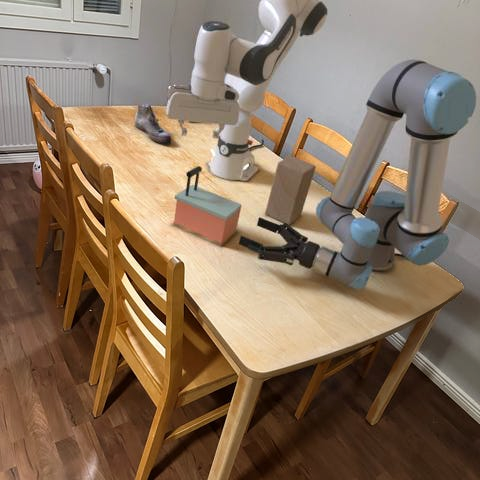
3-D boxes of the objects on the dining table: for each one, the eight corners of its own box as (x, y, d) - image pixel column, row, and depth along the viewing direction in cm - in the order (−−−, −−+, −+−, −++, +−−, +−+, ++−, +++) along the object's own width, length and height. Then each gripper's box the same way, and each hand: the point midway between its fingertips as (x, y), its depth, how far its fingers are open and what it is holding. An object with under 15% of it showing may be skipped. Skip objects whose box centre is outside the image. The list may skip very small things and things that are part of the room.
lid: (174, 198, 134) (177, 171, 129) (192, 187, 142) (195, 161, 137) (225, 220, 129) (231, 192, 124) (241, 207, 137) (246, 181, 132)
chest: (173, 225, 138) (176, 199, 133) (190, 213, 146) (194, 188, 142) (220, 246, 133) (225, 220, 129) (235, 232, 142) (241, 207, 137)
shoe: (175, 145, 192) (178, 118, 185) (151, 146, 186) (153, 118, 180) (154, 124, 209) (157, 98, 202) (132, 124, 203) (133, 97, 197)
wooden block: (289, 225, 152) (304, 173, 141) (264, 214, 155) (277, 162, 145) (301, 216, 159) (316, 165, 149) (277, 205, 163) (290, 155, 152)
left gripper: (169, 86, 113) (164, 137, 121) (244, 95, 120) (235, 143, 127) (166, 79, 118) (162, 128, 126) (239, 88, 125) (230, 135, 132)
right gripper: (299, 290, 117) (228, 259, 123) (323, 249, 137) (262, 224, 143) (306, 267, 113) (233, 237, 119) (331, 229, 133) (267, 204, 139)
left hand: (199, 136), depth 127 cm, fingers open, 8 cm apart
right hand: (249, 230), depth 131 cm, fingers open, 13 cm apart
